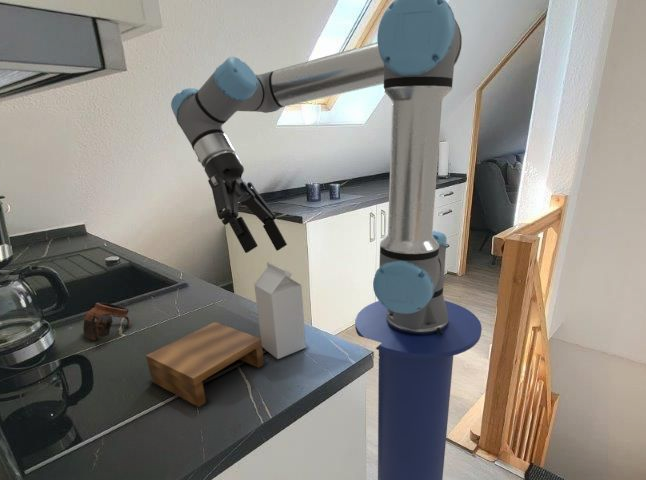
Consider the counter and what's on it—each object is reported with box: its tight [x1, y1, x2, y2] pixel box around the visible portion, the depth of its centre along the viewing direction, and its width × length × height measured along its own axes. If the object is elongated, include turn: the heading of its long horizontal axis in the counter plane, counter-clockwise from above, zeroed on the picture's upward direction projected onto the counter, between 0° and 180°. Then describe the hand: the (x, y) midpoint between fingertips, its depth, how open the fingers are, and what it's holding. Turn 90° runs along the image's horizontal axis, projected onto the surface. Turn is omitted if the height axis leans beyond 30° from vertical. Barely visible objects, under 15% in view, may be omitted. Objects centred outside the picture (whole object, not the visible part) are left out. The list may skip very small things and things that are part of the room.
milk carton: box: [253, 261, 307, 360], centre depth 85 cm, size 7×7×19 cm
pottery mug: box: [82, 302, 131, 341], centre depth 96 cm, size 12×10×8 cm
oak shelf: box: [145, 321, 265, 408], centre depth 79 cm, size 14×16×6 cm
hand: (268, 248), depth 85 cm, fingers open, 13 cm apart
